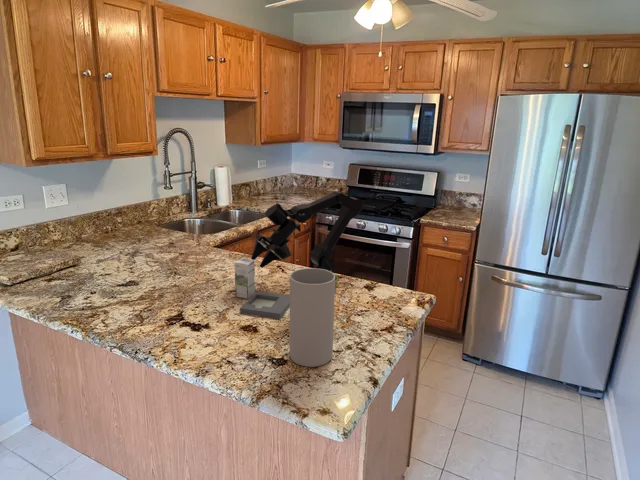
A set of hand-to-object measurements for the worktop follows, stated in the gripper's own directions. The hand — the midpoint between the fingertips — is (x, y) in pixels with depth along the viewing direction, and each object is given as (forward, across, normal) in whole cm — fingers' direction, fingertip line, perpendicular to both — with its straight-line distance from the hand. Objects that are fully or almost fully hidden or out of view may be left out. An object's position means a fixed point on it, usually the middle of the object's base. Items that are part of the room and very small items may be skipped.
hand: (256, 263), depth 163 cm
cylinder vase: (+11, -50, -7) cm, 51 cm away
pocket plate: (+9, -13, -9) cm, 18 cm away
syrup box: (+12, 0, -6) cm, 14 cm away
